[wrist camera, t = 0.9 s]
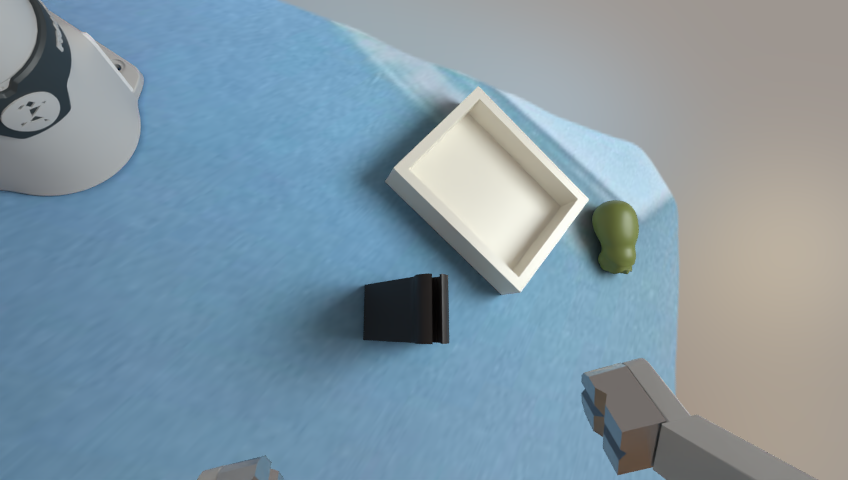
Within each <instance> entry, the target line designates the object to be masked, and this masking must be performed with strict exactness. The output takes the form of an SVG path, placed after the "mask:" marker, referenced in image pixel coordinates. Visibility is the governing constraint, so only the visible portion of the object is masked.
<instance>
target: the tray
mask: <svg viewBox="0 0 848 480" xmlns="http://www.w3.org/2000/svg"><path fill="white" fill-rule="evenodd" d="M385 182H386V183H387V184H388V185H389V186H390V187H391V188H392V189H393V190H394V191H395V192H396V193H397V194H398V195H399V196H400V197H401V198H402V199H403V200H404V201H405V202H406V203H407V204H408V205H409V206H410V207H412V208H413V209H414V210H415V211H416V212H417V213H418V214H419V215H420V216H421V217H422V218H423V219H424V220H425V221H426V222H427V223H428V224H429V225H430V226H431V227H432V228H433V229H434V230H435V231H436V232H437V233H438V234H439V235H440V236H441V237H442V238H443V239H445V240H446V241H447V242H448V243H449V244H450V245H451V246H452V247H453V248H454V249H455V250H456V251H457V252H458V253H459V254H460V255H461V256H462V257H463V258H464V259H465V260H466V261H467V262H468V263H469V264H470V265H471V266H472V267H473V268H474V269H475V270H476V271H477V272H479V273H480V274H481V275H482V276H483V277H484V278H485V279H486V280H487V281H488V282H489V283H490V284H491V285H492V286H493V287H494V288H495V289H496V290H497V291H498V292H499V293H500V294H501V295H505V294H512V293H519V292H521V291H522V290H523V288H524V287H525V286H526V284H527V283H528V282H529V280H530V279H531V277H532V276H533V275H534V273H535V272H536V271H537V269H538V268H539V267H540V265H541V264H542V263H543V261H544V260H545V259H546V257H547V256H548V254H549V253H550V252H551V250H552V249H553V248H554V246H555V245H556V244H557V242H558V241H559V240H560V238H561V237H562V236H563V234H564V233H565V231H566V230H567V229H568V227H569V226H570V225H571V223H572V222H573V221H574V219H575V218H576V217H577V215H578V214H579V213H580V211H581V210H582V209H583V207H584V206H585V204H586V203H587V202H588V200H589V199H588V198H587V197H586V196H585V195H584V194H583V193H582V192H581V191H580V190H579V189H578V188H577V187H576V186H575V185H574V184H573V183H572V181H571V180H570V179H569V178H568V177H567V176H566V175H565V174H564V173H563V172H562V171H561V170H560V169H559V168H558V167H557V166H556V165H555V164H554V163H553V162H552V161H551V160H550V159H549V158H548V157H547V156H546V155H545V154H544V153H543V152H542V151H541V150H540V149H539V148H538V147H537V146H536V145H535V144H534V143H533V142H532V141H531V140H530V139H529V138H528V136H527V135H526V134H525V133H524V132H523V131H522V130H521V129H520V128H519V127H518V126H517V125H516V124H515V123H514V122H513V121H512V120H511V119H510V118H509V117H508V116H507V115H506V114H505V113H504V112H503V111H502V110H501V109H500V108H499V107H498V106H497V105H496V104H495V103H494V102H493V101H492V100H491V99H490V98H489V97H488V96H487V95H486V94H485V93H484V92H483V90H482V89H481V88H480V87H479V86H478V87H477V88H476V89H475V90H474V91H473V92H472V93H471V94H470V95H469V96H468V97H467V98H466V99H465V100H464V101H463V102H462V103H460V104H459V105H458V106H457V107H456V108H455V109H454V110H453V111H452V112H451V113H450V114H449V115H448V116H447V117H446V118H445V119H444V120H443V121H442V122H441V123H440V124H439V125H438V126H437V127H435V128H434V129H433V130H432V131H431V132H430V133H429V134H428V135H427V136H426V137H425V138H424V139H423V140H422V141H421V142H420V143H419V144H418V145H417V146H416V147H415V148H414V149H413V150H412V151H411V152H409V153H408V154H407V155H406V156H405V157H404V158H403V159H402V160H401V161H400V162H399V163H398V164H397V165H396V166H395V167H394V168H393V169H392V171H391V173H390V174H389V176H388V178H387V179H386V181H385Z"/></svg>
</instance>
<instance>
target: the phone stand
mask: <svg viewBox="0 0 848 480" xmlns="http://www.w3.org/2000/svg"><path fill="white" fill-rule="evenodd" d="M363 340H374V341H392V342H409V343H416V344H432V342H438V343H441V344H447V343H449V301H448V275H446V274H440V277H433V278H432V274H419V275H415V276H414V277H410V278H404V279H398V280H392V281H386V282H380V283H374V284H368V285H365V298H364V337H363Z"/></svg>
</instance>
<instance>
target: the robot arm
mask: <svg viewBox="0 0 848 480" xmlns="http://www.w3.org/2000/svg"><path fill="white" fill-rule="evenodd" d="M117 68H121V70H120V71H118V69H117ZM143 83H144V78H143V75H142V74H141V72H140V71H139V70H138V69H137V68H136V67H135V66H134V65H132V64H131V63H129V62H127V61H126V60H124V59H123V58H121V57H120V56H118V55H117V54H115V53H114V52H112V51H111V50H109V49H108V48H106V47H104V46H103V45H101V44H100V43H98V42H97V41H95V40H94V39H93V38H92V37H91V36H90V35H89V34H88V33H86V32H81V31H80V30H78V29H77V28H75V27H74V26H72V25H71V24H69V23H68V22H66V21H65V20H63V19H62V18H60V17H58V16H57V15H55V14H54V13H52V12H51V11H49V10H48V9H47V8H46V6H45V5H44V4H43V3H42V2H41V1H40V0H0V190H7V191H14V192H19V193H24V194H31V195H41V196H54V195H65V194H71V193H75V192H79V191H83V190H86V189H89V188H91V187H94V186H96V185H98V184H100V183H102V182H104V181H106V180H107V179H109V178H110V177H112V176H113V175H114V174H116V173H117V172H118V171H119V170H120V169H121V168H122V167H123V166H124V165H125V164H126V163H127V162H128V160H129V159H130V158H131V156H132V154H133V153H134V151H135V149H136V147H137V144H138V141H139V137H140V130H141V122H140V115H139V109H138V99H139V96H140V93H141V91H142V87H143ZM582 384H583V386H584V387H585V390H584V391H583V392H582V393H581V394H582V404H583V408H584V412H585V414H586V417H587V419H588V421H589V423H590V425H591V427H592V429H593V431H595V432H596V433H598V434H599V435H601V436H602V437H603V449H604V451H605V453H606V455H607V457H608V459H609V460H610V462H611V464H612V466H613V468H614V470H615V471H616V473H617V475H621V474H625V473H629V472H634V471H638V470H643V469H647V468H651V467H653V470H654V471H656V472H657V473H658V474H660V475H661V476H662V477H664V478H665V479H666V480H818V479H816V478H814V477H812V476H810V475H808V474H806V473H805V472H803V471H801V470H799V469H797V468H795V467H793V466H792V465H790V464H788V463H786V462H784V461H782V460H781V459H779V458H777V457H775V456H773V455H771V454H769V453H768V452H765V451H764V450H762V449H760V448H758V447H756V446H754V445H753V444H751V443H749V442H747V441H745V440H744V439H742V438H740V437H738V436H736V435H734V434H732V433H731V432H729V431H727V430H725V429H723V428H721V427H719V426H717V425H716V424H714V423H712V422H710V421H708V420H706V419H704V418H703V417H701V416H699V415H693V416H691V415H690V414H689V413H688V412H687V410H686V409H685V408H684V406H683V405H682V404H681V403H680V402H679V400H678V399H677V398H676V396H675V395H674V394H673V393H672V391H671V390H670V389H669V388H668V386H667V385H666V384H665V383H664V381H663V380H662V379H661V378H660V376H659V375H658V374H657V373H656V371H655V370H654V369H653V368H652V366H651V365H650V364H649V363H648V361H646V360H645V359H643V358H638V359H634V360H631V361H627V362H624V363H618V364H614V365H610V366H607V367H603V368H600V369H596V370H592V371H589V372H585V373H583V375H582ZM271 463H272V462H271V461H270V460H269V459H268V458H267V456H266V455H265V456H261V457H257V458H253V459H249V460H245V461H241V462H237V463H233V464H229V465H224V466H220V467H216V468H213V469H209V470H205V471H203V472H202V473H201V475H200V476H199V477H198V479H197V480H284V478H283V476H282V475H281V473H280V472H279V471H276V470H273V469H270V468H271Z"/></svg>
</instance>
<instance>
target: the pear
mask: <svg viewBox="0 0 848 480" xmlns="http://www.w3.org/2000/svg"><path fill="white" fill-rule="evenodd" d="M592 223H593V228H594V231H595V233H596V235H597V237H598V239H599V241H600V243H601V246H602V251H601V253H600V254H599V257H598V262H599V264H600V266H601V268H602V269H603V270H605V271H609V272H611V273H613V274H616V273H624V274H628V273H629V271H630V272H632V265H634V264H635V259H636V251H635V244H636V241H637V238H638V233H639V225H638V219H637V215H636V213H635V211H634V209H633V208H632V207H631V206H630V205H629V204H628V203H626V202H623V201H618V200H612V201H607V202H605V203H603V204H601V205H599V206H598V207H597V208H596V210H595V211H594V213H593V217H592Z"/></svg>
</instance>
